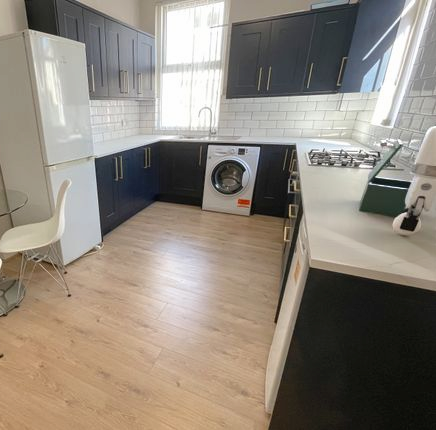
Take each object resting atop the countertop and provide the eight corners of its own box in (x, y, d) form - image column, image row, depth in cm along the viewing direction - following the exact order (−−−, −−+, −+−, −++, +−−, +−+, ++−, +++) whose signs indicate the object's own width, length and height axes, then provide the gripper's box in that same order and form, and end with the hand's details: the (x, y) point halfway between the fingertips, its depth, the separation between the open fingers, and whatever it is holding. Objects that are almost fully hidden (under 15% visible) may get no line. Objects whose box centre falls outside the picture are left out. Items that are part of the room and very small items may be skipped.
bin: (407, 208, 111) (418, 182, 107) (411, 220, 100) (423, 191, 96) (360, 200, 120) (369, 176, 116) (358, 210, 109) (368, 183, 105)
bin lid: (400, 140, 107) (384, 135, 109) (403, 144, 96) (386, 138, 98) (370, 175, 115) (356, 169, 118) (370, 183, 104) (354, 176, 107)
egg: (384, 232, 91) (393, 210, 88) (396, 229, 93) (405, 208, 90) (408, 240, 86) (418, 217, 83) (420, 237, 87) (430, 214, 85)
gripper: (454, 178, 73) (426, 239, 80) (443, 167, 85) (419, 221, 92) (414, 174, 78) (390, 232, 84) (409, 164, 90) (388, 215, 96)
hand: (405, 226), depth 88 cm, fingers closed on egg, 6 cm apart
